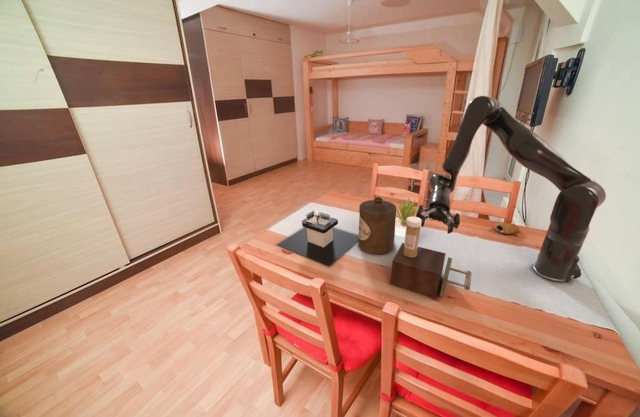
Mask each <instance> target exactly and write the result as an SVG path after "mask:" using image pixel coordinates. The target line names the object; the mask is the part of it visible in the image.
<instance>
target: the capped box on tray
mask: <svg viewBox="0 0 640 417" xmlns="http://www.w3.org/2000/svg"><path fill="white" fill-rule="evenodd" d="M338 224H339V219H338V218H335V217H331V214H327V213H325V212H321V211H319V212H318V214H315V210H314V209H313V210H312V211H310V212H309V213H306V214H305V218H304V219H302V221H301V226H302V227H303V228H301V229H300V230H298V231H297V232H295V233H293V234H292V235H290V236H289V237H287V238H285V239H284V240H281V242H279V243H277V246H280V247H282V248H285V249H287V250H289V251H291V252H293V253H296V254H299V255H301V256H303V257H306V258H308V259H310V260H312V261H315V262H317V263H320V264H322V265H324V266H328V267H331V265H333V264H334V263H335V262H336V261H337V260H338V259H339V258H341V256H343V255H344V254H345V253H346V252H347V251H348V250H349V249H350V248H352V247H353V246H354V245H355V244H357V242H359V234H358V235H357V234H355V233H351V232H348V231H345V230H342V229H339V228H335V227H336V226H337V225H338Z"/></svg>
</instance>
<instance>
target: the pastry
mask: <svg viewBox="0 0 640 417" xmlns="http://www.w3.org/2000/svg"><path fill="white" fill-rule="evenodd" d="M494 230H495V231H496V232H499V233H501V234H504V235H513V234H516V233H518V232H519V226H518V225H516V224H515V223H510V222H505V221H504V222H499V223H497V224H495V225H494Z"/></svg>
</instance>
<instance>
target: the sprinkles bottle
mask: <svg viewBox="0 0 640 417" xmlns="http://www.w3.org/2000/svg"><path fill="white" fill-rule="evenodd" d="M421 223H422V220H421V219H420V218H418V217H416V216H413V215H412V216H407V218H406V223H405V224H406V226H405V235H404V242H403V243H404V251H403V254H404V255H405V256H407V257H411V258H413V257H416V256H417V249H418V247H419V241H420V232H421V228H422V227H421Z"/></svg>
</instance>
